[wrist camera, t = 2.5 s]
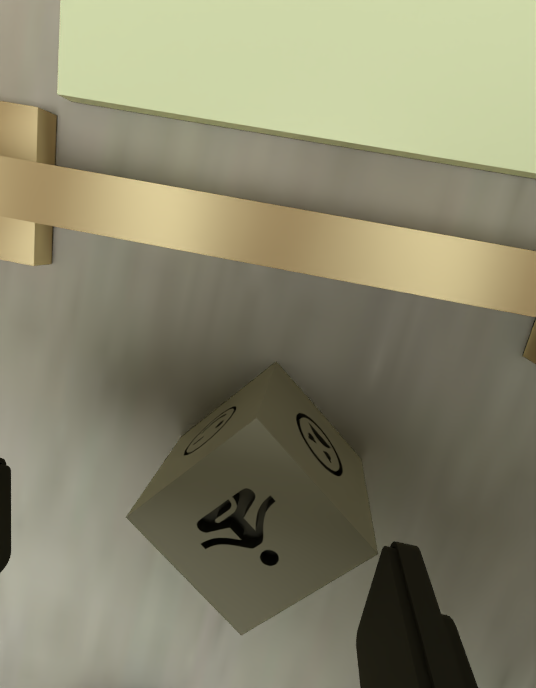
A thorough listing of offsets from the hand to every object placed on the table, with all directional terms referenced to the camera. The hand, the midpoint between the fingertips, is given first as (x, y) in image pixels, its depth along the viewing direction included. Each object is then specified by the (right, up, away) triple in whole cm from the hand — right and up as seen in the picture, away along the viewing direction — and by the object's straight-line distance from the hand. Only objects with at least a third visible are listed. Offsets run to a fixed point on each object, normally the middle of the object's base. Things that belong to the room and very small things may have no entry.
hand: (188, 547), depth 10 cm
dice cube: (+2, +1, +6) cm, 7 cm away
